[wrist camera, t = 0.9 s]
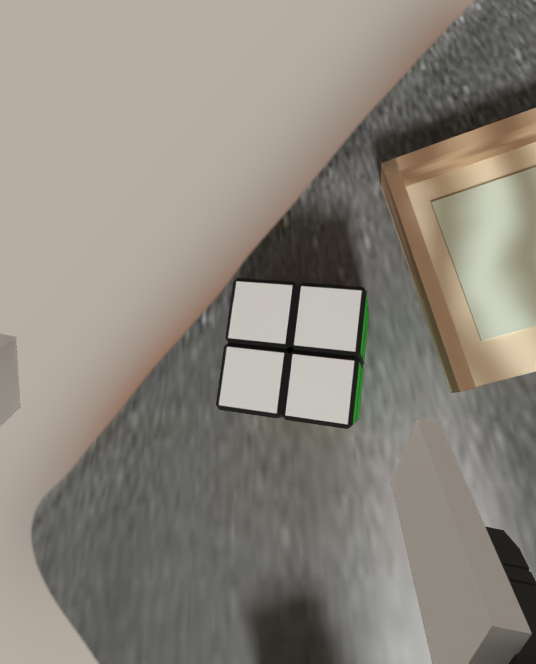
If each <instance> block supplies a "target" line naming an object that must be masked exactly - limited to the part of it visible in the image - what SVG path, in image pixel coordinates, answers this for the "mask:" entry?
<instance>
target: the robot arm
mask: <svg viewBox="0 0 536 664" xmlns="http://www.w3.org/2000/svg"><path fill="white" fill-rule="evenodd" d="M19 408H20V394H19V378H18V363H17V346H16V337H14V336H9V335H4V334H0V426H1V425H3V423H5V422H6V421H7V420H8V419H9V418H10V417H11V416H12V415H13V414H14V413H15V412H16V411H17V410H18V409H19ZM391 484H392V488H393V493H394V497H395V502H396V506H397V510H398V515H399V519H400V524H401V528H402V532H403V537H404V541H405V546H406V550H407V554H408V559H409V563H410V568H411V572H412V576H413V581H414V585H415V590H416V594H417V598H418V603H419V607H420V611H421V616H422V620H423V625H424V629H425V633H426V638H427V642H428V647H429V651H430V655H431V660H432V664H536V581H535V579H534V577H533V575H532V573H531V572H529V567H528V565H527V563H526V561H525V559H524V557H523V555H522V553H521V551H520V549H519V548H518V547H517V545H516V544H515V543H514V542H513V541H512V540H511V538H510V537H509V536H508V535H507V534H506V533H505V532H504V530H499V529H494V528H489V527H485V525H484V523H483V521H482V518H481V516H480V514H479V511H478V509H477V507H476V505H475V502H474V500H473V498H472V495H471V493H470V491H469V488H468V486H467V484H466V482H465V479H464V477H463V475H462V472H461V470H460V468H459V466H458V463H457V461H456V459H455V456H454V454H453V452H452V450H451V447H450V445H449V443H448V440H447V438H446V436H445V434H444V431H443V429H442V427H441V424H440V423H437V422H432V421H427V420H423V419H418V418H416V421H415V423H414V426H413V428H412V431H411V434H410V436H409V439H408V441H407V444H406V446H405V449H404V451H403V454H402V456H401V459H400V461H399V464H398V466H397V469H396V471H395V474H394V476H393V479H392V482H391Z"/></svg>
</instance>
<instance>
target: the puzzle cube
mask: <svg viewBox="0 0 536 664" xmlns="http://www.w3.org/2000/svg"><path fill="white" fill-rule="evenodd" d="M368 319H369V311H368V300H367V292H366V290H365V289H364V288H363V287H354V286H340V285H326V284H312V283H302V284H300V285H299V286H297V285H296V284H295V283H294V282H288V281H274V280H260V279H245V278H237V279H236V280H235V281H234V282H233V289H232V296H231V303H230V310H229V317H228V324H227V331H226V339H227V341H228V342H229V343H228V344H227V345H225V346H224V352H223V359H222V366H221V373H220V380H219V387H218V394H217V401H216V405H217V407H218V408H219V410H225V411H232V412H239V413H245V414H252V415H259V416H266V417H272V418H281V417H284V418H285V420H291V421H298V422H305V423H311V424H318V425H325V426H332V427H338V428H345V429H348V428H349V427H351V426H352V425H353V424H354V423H355V422H356V421H357V420H358V419H359V410H360V400H361V390H362V380H363V368H362V366H361V365H362V364H364V359H365V349H366V339H367V329H368Z"/></svg>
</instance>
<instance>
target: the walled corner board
mask: <svg viewBox="0 0 536 664" xmlns="http://www.w3.org/2000/svg"><path fill="white" fill-rule="evenodd" d="M381 189H382V192H383V195H384V197H385V200H386V203H387V206H388V209H389V212H390V215H391V218H392V221H393V224H394V227H395V230H396V233H397V236H398V239H399V242H400V245H401V248H402V250H403V253H404V256H405V259H406V262H407V265H408V268H409V271H410V274H411V277H412V280H413V283H414V286H415V289H416V292H417V295H418V298H419V301H420V303H421V306H422V309H423V312H424V315H425V318H426V321H427V324H428V327H429V330H430V333H431V336H432V339H433V342H434V345H435V348H436V351H437V354H438V356H439V359H440V362H441V365H442V368H443V371H444V374H445V377H446V380H447V383H448V386H449V389H450V392H451V393H454V392H461V391H465V390H469V389H473V388H476V387H477V386H480V385H484V384H488V383H492V382H496V381H500V380H504V379H508V378H512V377H515V376H519V375H523V374H527V373H531V372H535V371H536V108H533V109H531V110H528V111H525V112H522V113H519V114H517V115H514V116H511V117H508V118H506V119H503V120H500V121H497V122H494V123H492V124H489V125H486V126H483V127H480V128H478V129H475V130H472V131H469V132H467V133H464V134H461V135H458V136H455V137H453V138H450V139H447V140H444V141H441V142H439V143H436V144H433V145H430V146H428V147H425V148H422V149H419V150H416V151H414V152H411V153H408V154H405V155H402V156H400V157H397V158H394V159H391V160H389V161H386V162H383V163H381Z"/></svg>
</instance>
